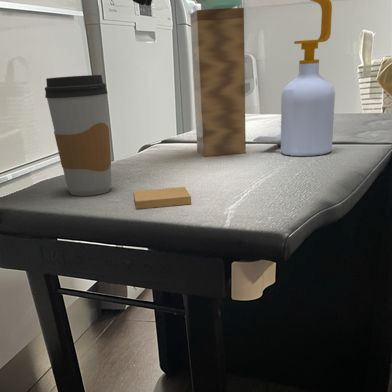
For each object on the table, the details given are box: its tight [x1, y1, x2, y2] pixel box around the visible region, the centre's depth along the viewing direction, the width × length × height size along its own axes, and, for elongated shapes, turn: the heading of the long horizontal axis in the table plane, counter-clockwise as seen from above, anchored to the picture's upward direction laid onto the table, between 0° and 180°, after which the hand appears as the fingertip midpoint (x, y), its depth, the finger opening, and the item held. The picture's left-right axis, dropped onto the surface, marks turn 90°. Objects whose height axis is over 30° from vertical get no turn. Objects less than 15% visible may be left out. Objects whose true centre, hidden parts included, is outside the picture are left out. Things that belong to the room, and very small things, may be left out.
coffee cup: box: [44, 74, 113, 197], centre depth 76 cm, size 8×8×15 cm
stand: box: [189, 7, 247, 157], centre depth 100 cm, size 8×8×23 cm
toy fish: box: [252, 125, 281, 146], centre depth 108 cm, size 6×18×4 cm, turn 151°
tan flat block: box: [132, 186, 192, 210], centre depth 71 cm, size 7×6×1 cm
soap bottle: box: [280, 0, 336, 157], centre depth 93 cm, size 9×9×25 cm
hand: (141, 3), depth 91 cm, fingers open, 8 cm apart
